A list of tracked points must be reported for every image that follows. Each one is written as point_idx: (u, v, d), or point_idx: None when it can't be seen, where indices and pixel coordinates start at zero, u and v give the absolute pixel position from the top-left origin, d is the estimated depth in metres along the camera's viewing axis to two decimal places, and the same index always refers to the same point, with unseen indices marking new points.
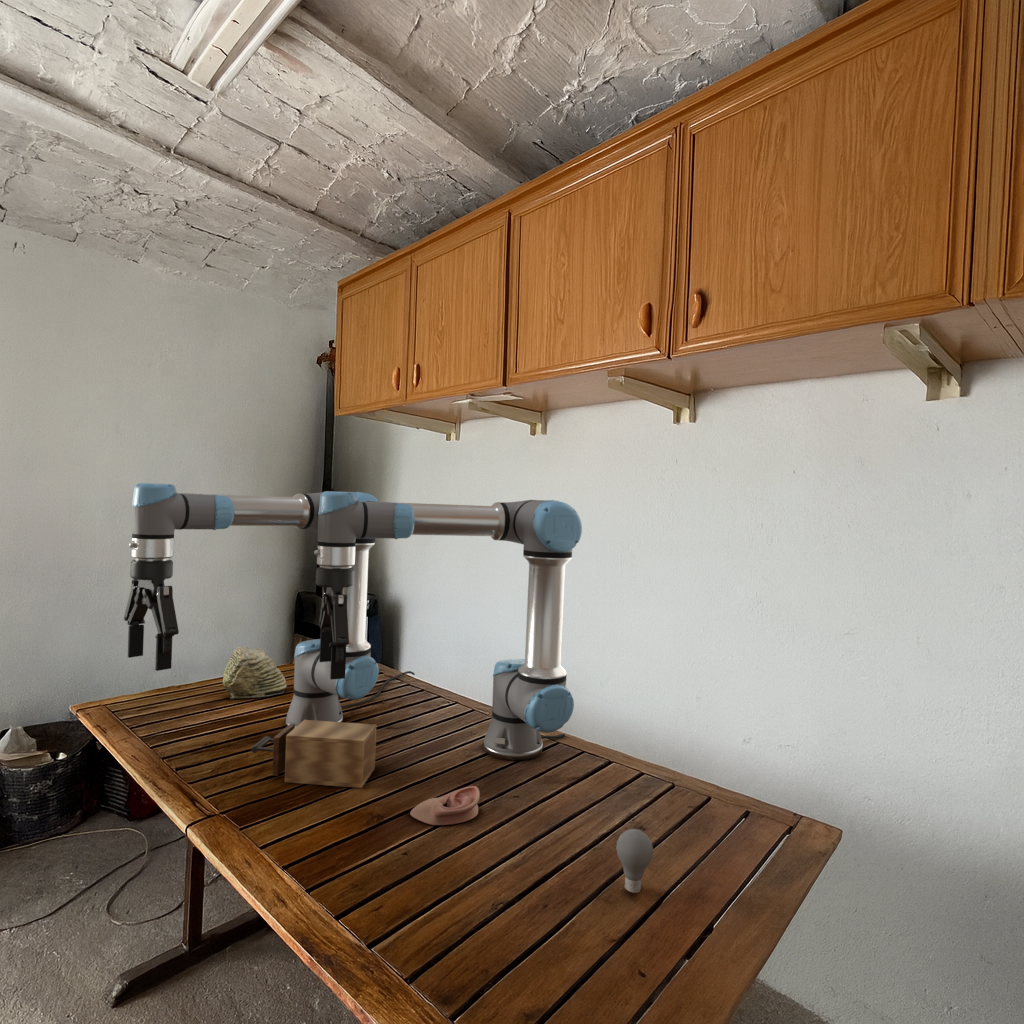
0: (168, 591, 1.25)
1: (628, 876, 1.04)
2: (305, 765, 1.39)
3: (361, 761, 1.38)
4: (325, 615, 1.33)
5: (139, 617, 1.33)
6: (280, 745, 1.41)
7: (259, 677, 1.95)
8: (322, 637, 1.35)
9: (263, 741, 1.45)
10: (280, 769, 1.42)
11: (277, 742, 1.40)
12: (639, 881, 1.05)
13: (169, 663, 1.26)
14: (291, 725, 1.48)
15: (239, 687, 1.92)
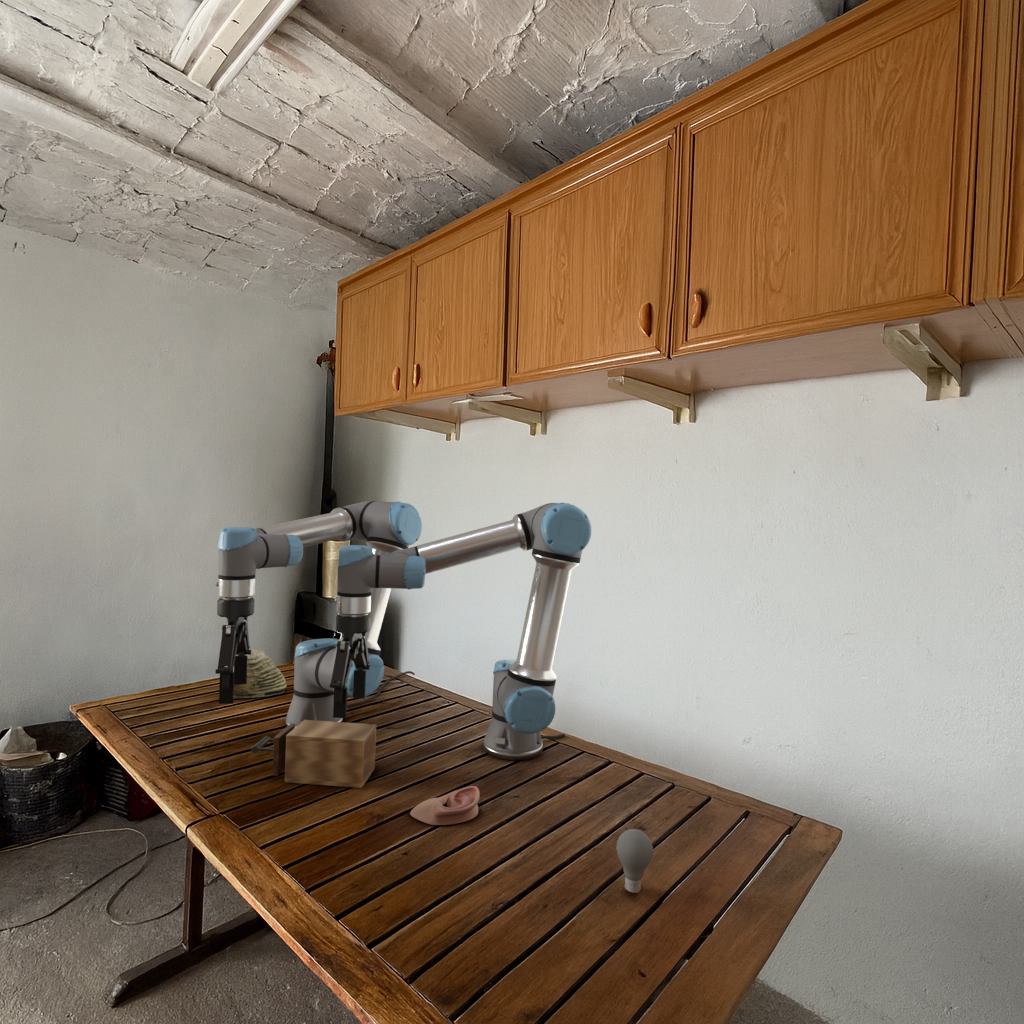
0: (230, 630, 1.33)
1: (628, 876, 1.04)
2: (305, 765, 1.39)
3: (361, 761, 1.38)
4: None
5: (241, 648, 1.45)
6: (280, 745, 1.41)
7: (259, 677, 1.95)
8: (355, 675, 1.50)
9: (263, 741, 1.45)
10: (280, 769, 1.42)
11: (277, 742, 1.40)
12: (639, 881, 1.05)
13: (230, 698, 1.33)
14: (291, 725, 1.48)
15: (239, 687, 1.92)
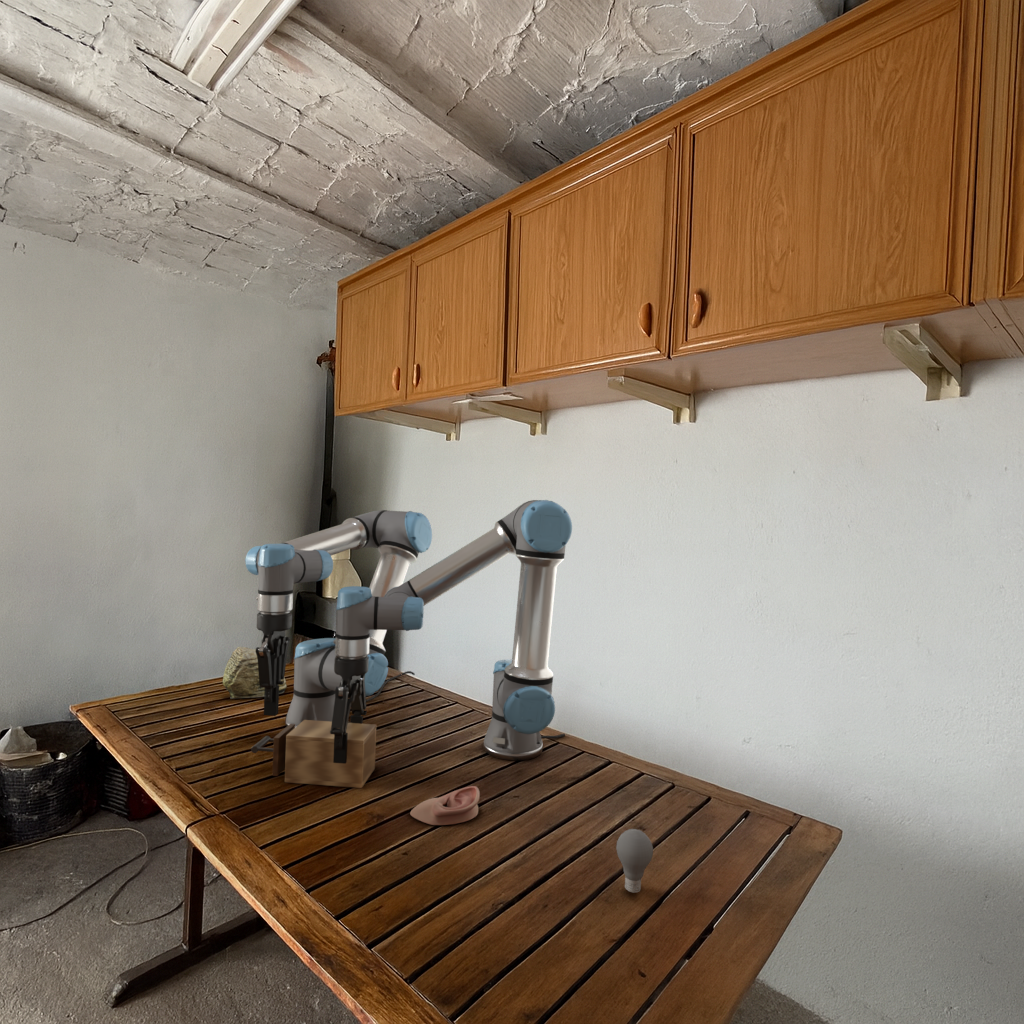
0: (263, 654, 1.39)
1: (628, 876, 1.04)
2: (305, 765, 1.39)
3: (361, 761, 1.38)
4: None
5: None
6: (280, 745, 1.41)
7: None
8: (351, 721, 1.49)
9: (263, 741, 1.45)
10: (280, 769, 1.42)
11: (277, 742, 1.40)
12: (639, 881, 1.05)
13: (273, 711, 1.44)
14: (291, 725, 1.48)
15: (239, 687, 1.92)
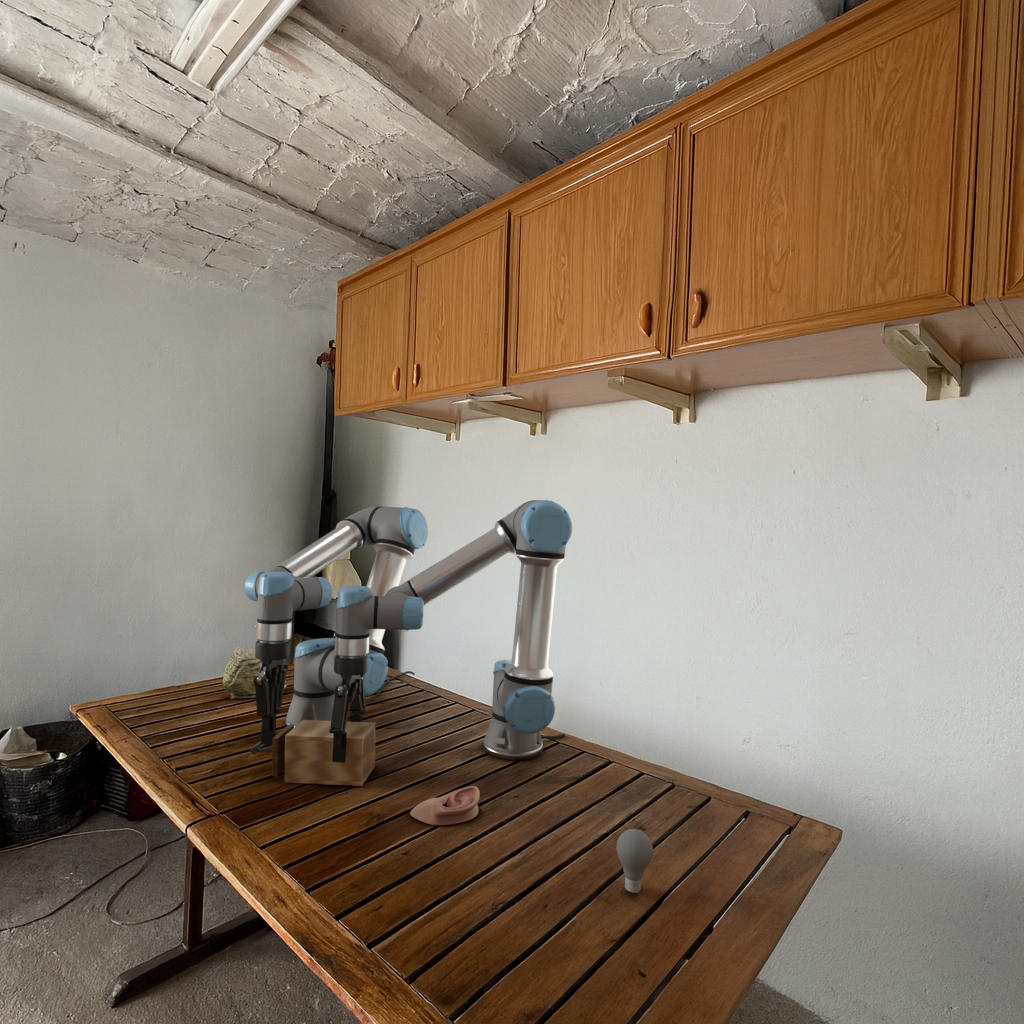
0: (261, 683, 1.39)
1: (628, 876, 1.04)
2: (305, 765, 1.39)
3: (360, 759, 1.38)
4: None
5: None
6: (279, 745, 1.41)
7: None
8: (350, 720, 1.49)
9: None
10: (279, 769, 1.42)
11: (276, 743, 1.40)
12: (639, 881, 1.05)
13: (270, 739, 1.44)
14: (290, 725, 1.48)
15: (239, 687, 1.92)
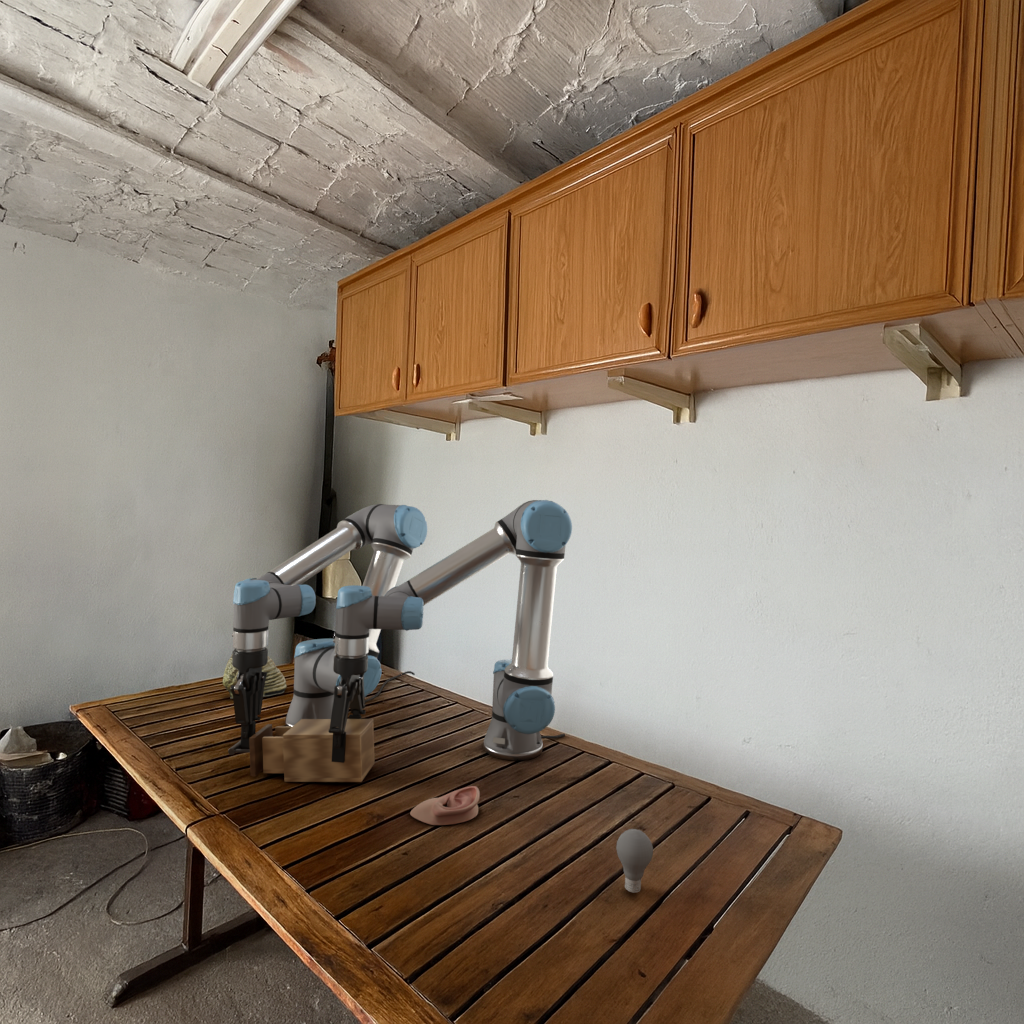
0: (238, 692, 1.39)
1: (628, 876, 1.04)
2: (303, 763, 1.39)
3: (359, 755, 1.38)
4: None
5: None
6: (256, 745, 1.42)
7: None
8: None
9: (240, 743, 1.46)
10: (258, 769, 1.42)
11: (253, 743, 1.41)
12: (639, 881, 1.05)
13: None
14: (268, 725, 1.48)
15: None
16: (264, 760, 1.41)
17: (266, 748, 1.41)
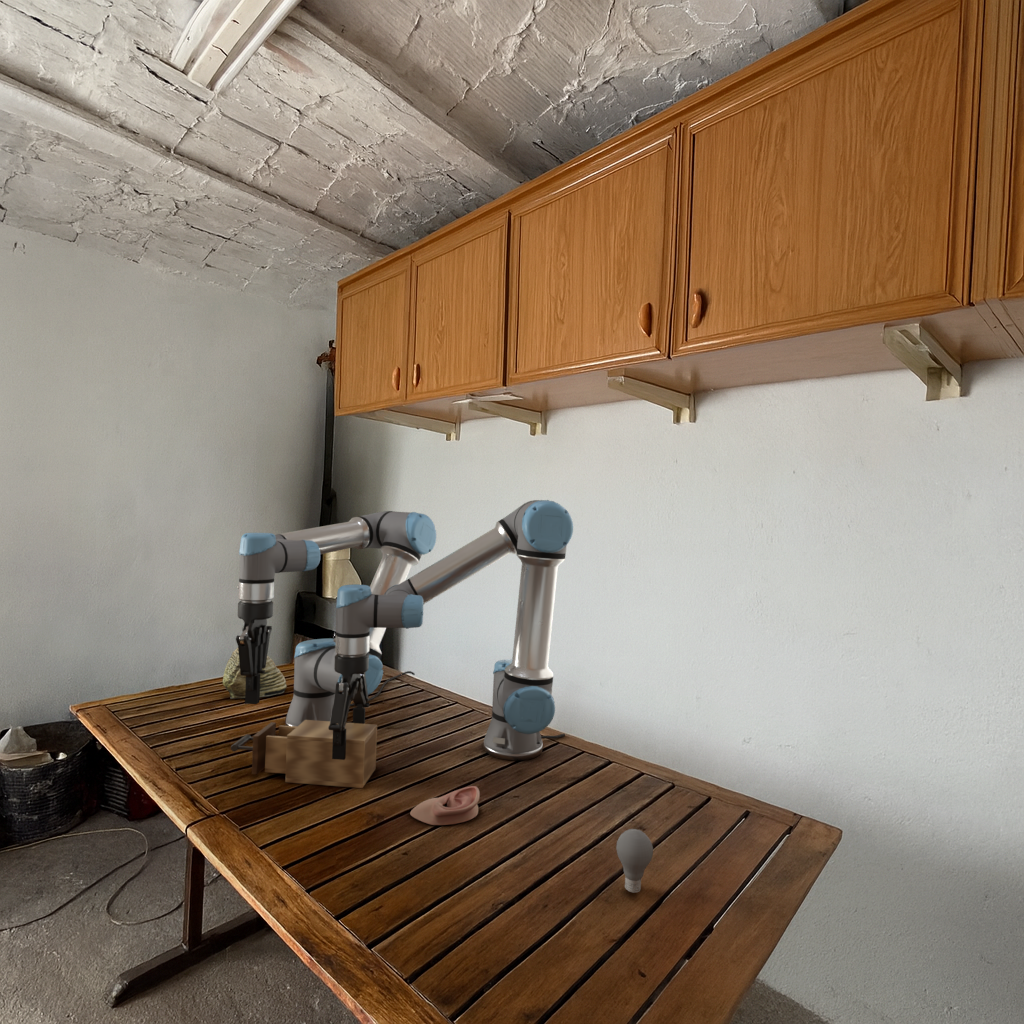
0: (243, 642, 1.39)
1: (628, 876, 1.04)
2: (306, 765, 1.39)
3: (362, 761, 1.38)
4: None
5: None
6: (259, 743, 1.41)
7: None
8: (354, 713, 1.50)
9: (243, 739, 1.46)
10: (259, 767, 1.42)
11: (257, 741, 1.41)
12: (639, 881, 1.05)
13: (254, 699, 1.44)
14: (272, 724, 1.48)
15: (239, 687, 1.92)
16: (266, 759, 1.41)
17: (269, 747, 1.41)
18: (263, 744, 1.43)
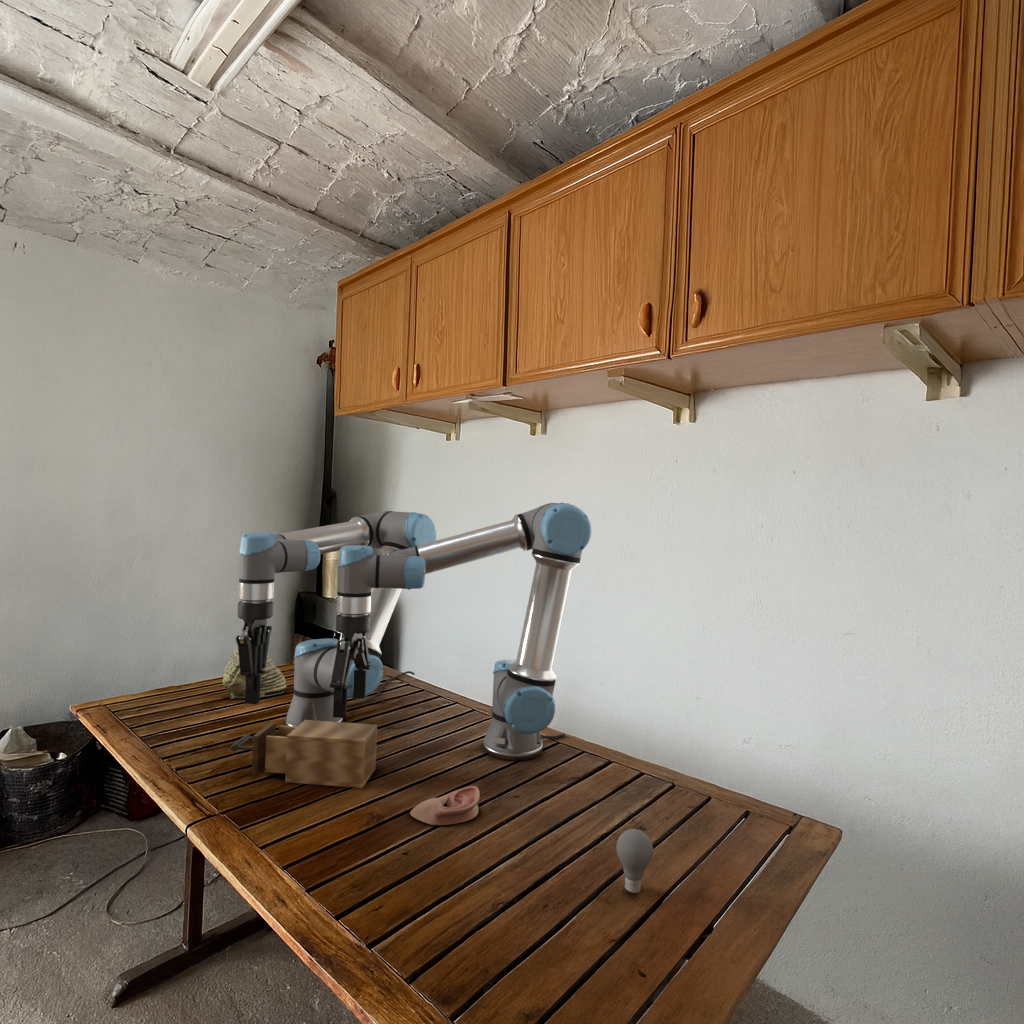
0: (243, 642, 1.39)
1: (628, 876, 1.04)
2: (306, 765, 1.39)
3: (362, 761, 1.38)
4: None
5: None
6: (259, 743, 1.41)
7: None
8: (355, 675, 1.50)
9: (243, 739, 1.46)
10: (259, 767, 1.42)
11: (257, 741, 1.41)
12: (639, 881, 1.05)
13: (254, 699, 1.44)
14: (272, 724, 1.48)
15: (239, 687, 1.92)
16: (266, 759, 1.41)
17: (269, 747, 1.41)
18: (263, 744, 1.43)
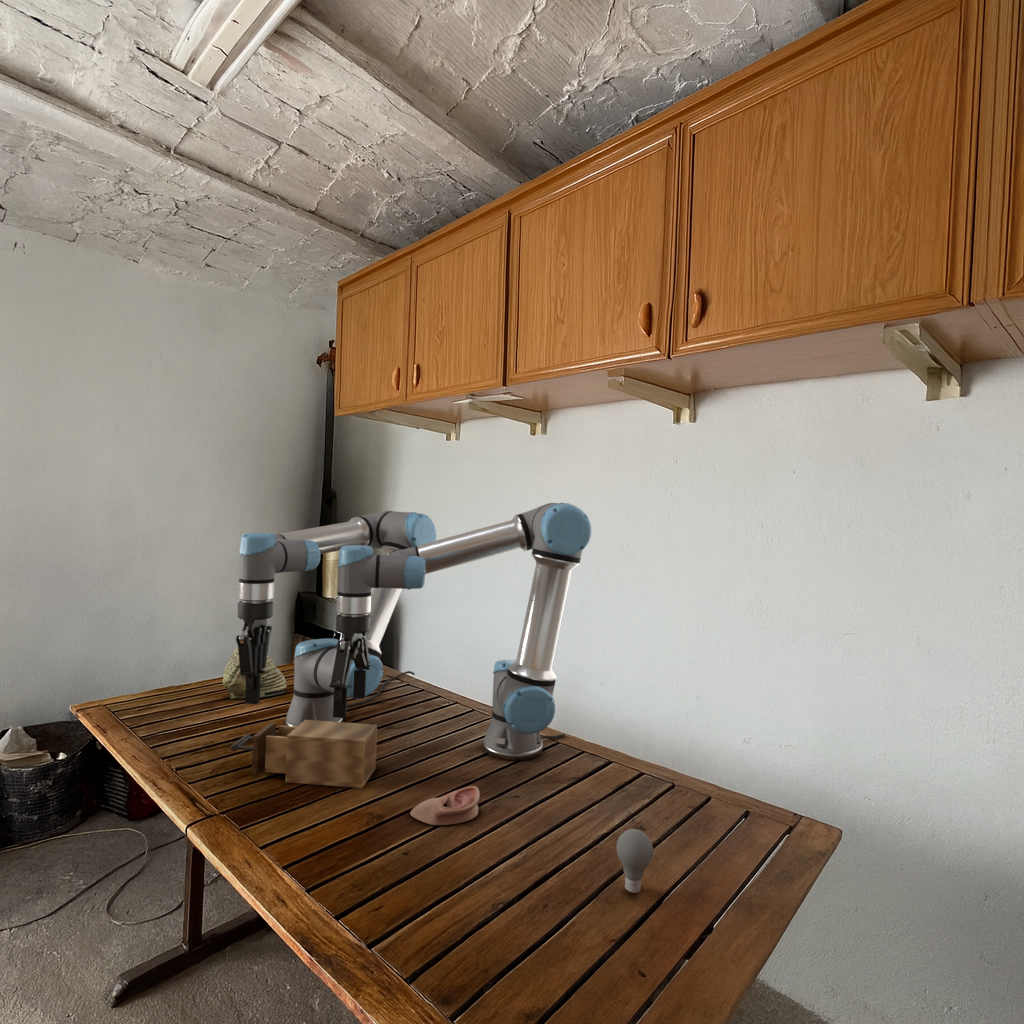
0: (243, 642, 1.39)
1: (628, 876, 1.04)
2: (306, 765, 1.39)
3: (362, 761, 1.38)
4: None
5: None
6: (259, 743, 1.41)
7: None
8: (355, 675, 1.50)
9: (243, 740, 1.46)
10: (259, 767, 1.42)
11: (257, 741, 1.41)
12: (639, 881, 1.05)
13: (254, 699, 1.44)
14: (272, 724, 1.48)
15: (239, 687, 1.92)
16: (266, 759, 1.41)
17: (269, 747, 1.41)
18: (263, 744, 1.43)
